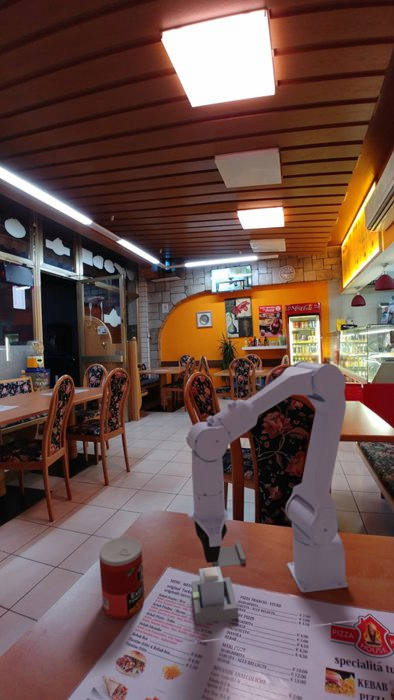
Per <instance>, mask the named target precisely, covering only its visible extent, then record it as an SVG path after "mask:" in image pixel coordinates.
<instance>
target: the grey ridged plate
mask: <svg viewBox="0 0 394 700" xmlns="http://www.w3.org/2000/svg"><path fill="white" fill-rule="evenodd" d="M234 542H235V543H234V545H232V546H231V545H230V546H221V547H220V553H219V558H218V562H212V563H213V567H218V566H220V568H222V567H230V566H231V567H232V566H238V565H246V564H247V560H246V559H247V558H246V556H245V552H244V550H243V546H242V545H241V541H240V540H235V541H234Z"/></svg>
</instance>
